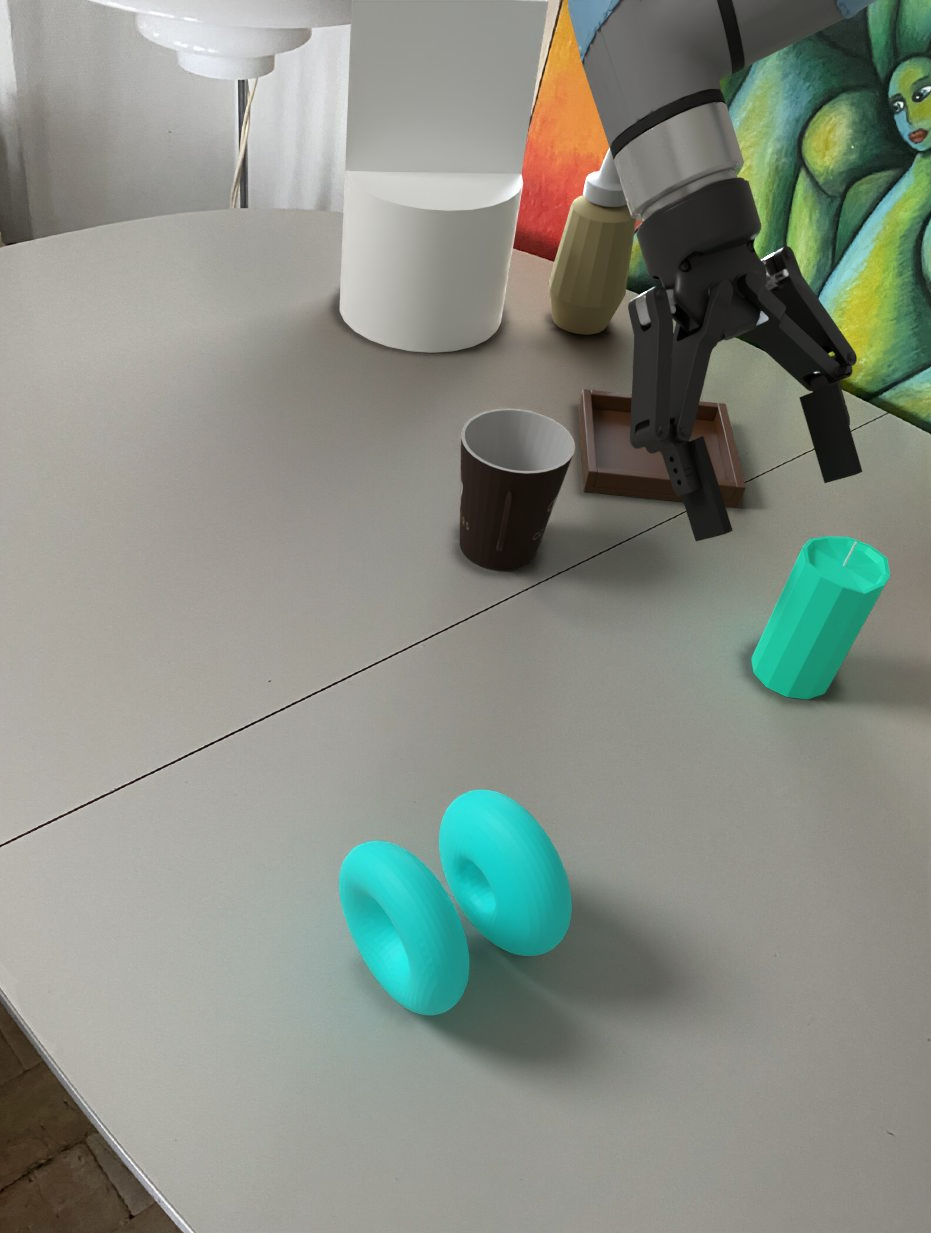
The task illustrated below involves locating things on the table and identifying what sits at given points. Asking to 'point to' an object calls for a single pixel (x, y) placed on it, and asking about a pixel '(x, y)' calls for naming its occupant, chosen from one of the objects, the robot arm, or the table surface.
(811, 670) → the candle
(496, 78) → the cylinder
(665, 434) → the robot arm
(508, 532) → the coffee mug
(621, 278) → the squeeze bottle
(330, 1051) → the table surface
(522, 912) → the donuts
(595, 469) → the walnut tray
